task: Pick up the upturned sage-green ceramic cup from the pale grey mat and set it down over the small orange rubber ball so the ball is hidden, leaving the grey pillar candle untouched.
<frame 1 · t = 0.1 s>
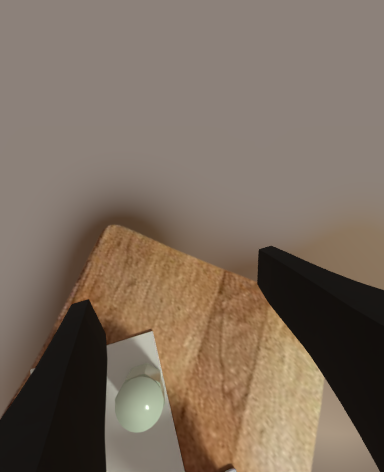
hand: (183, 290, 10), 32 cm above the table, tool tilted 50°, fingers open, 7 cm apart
grey mat: (107, 422, 34), on the table
sage cup: (143, 385, 36), resting on grey mat
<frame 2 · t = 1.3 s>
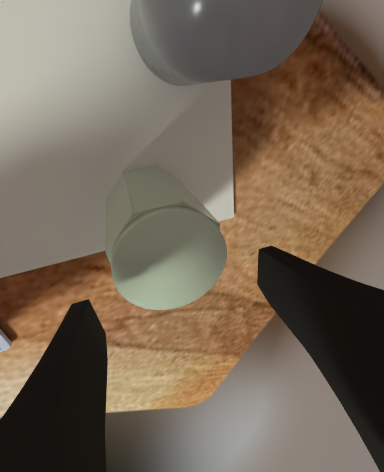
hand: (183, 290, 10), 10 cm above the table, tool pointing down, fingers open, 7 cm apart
grey mat: (78, 123, 15), on the table
sage cup: (148, 204, 18), resting on grey mat
grey pillar candle: (180, 27, 14), resting on grey mat
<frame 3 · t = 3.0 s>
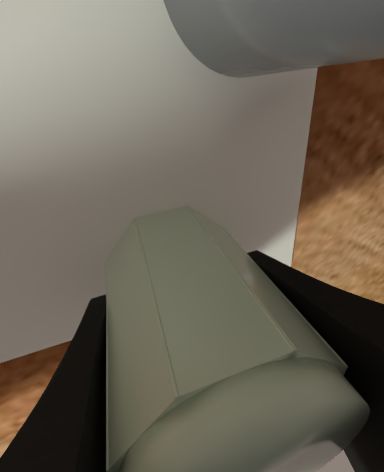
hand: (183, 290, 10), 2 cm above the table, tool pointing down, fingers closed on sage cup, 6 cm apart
grey mat: (58, 144, 8), on the table
sage cup: (172, 263, 12), resting on grey mat, touching gripper
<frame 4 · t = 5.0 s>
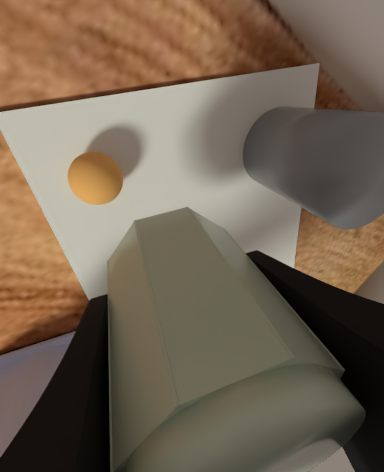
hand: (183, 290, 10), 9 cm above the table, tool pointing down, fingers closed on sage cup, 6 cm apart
orange ball: (96, 179, 14), point 2 cm above the table, touching grey mat
grey mat: (194, 215, 19), on the table
sage cup: (172, 263, 12), point 7 cm above the table, touching gripper
grey pillar candle: (276, 148, 18), resting on grey mat
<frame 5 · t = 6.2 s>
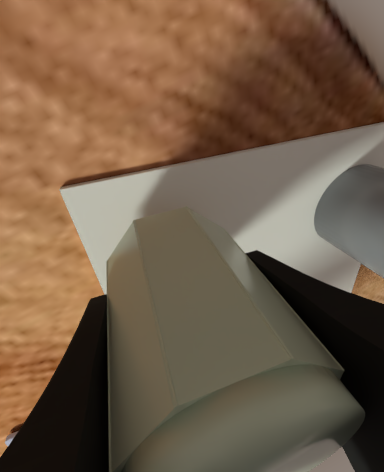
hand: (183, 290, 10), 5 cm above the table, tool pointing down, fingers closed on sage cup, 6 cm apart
grey mat: (253, 274, 18), on the table
sage cup: (172, 263, 12), point 2 cm above the table, touching gripper
grey pillar candle: (348, 205, 17), resting on grey mat
when the fingers open (4 cm above the table, at t = 7.3 s): sage cup drops 1 cm, resting on grey mat.
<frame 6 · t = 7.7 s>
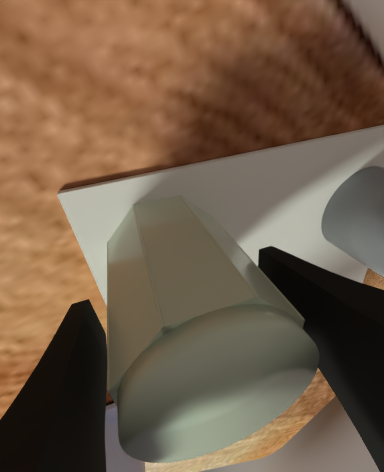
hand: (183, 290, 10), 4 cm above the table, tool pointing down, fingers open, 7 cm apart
grey mat: (258, 279, 17), on the table
sage cup: (166, 247, 13), resting on grey mat
grey pillar candle: (357, 208, 16), resting on grey mat
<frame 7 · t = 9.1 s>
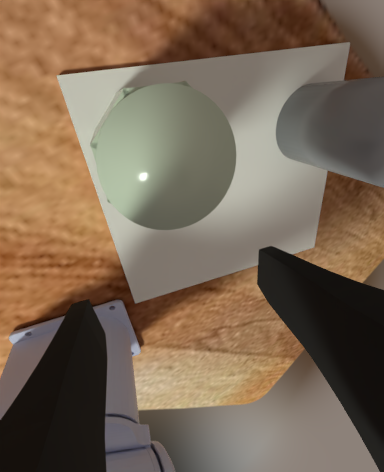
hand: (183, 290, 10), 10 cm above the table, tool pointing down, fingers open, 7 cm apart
grey mat: (226, 188, 20), on the table
sage cup: (144, 140, 16), resting on grey mat
grey pillar candle: (306, 124, 19), resting on grey mat
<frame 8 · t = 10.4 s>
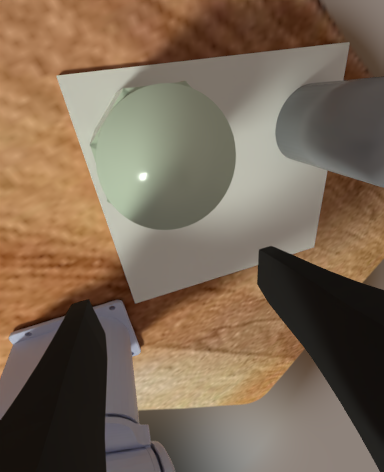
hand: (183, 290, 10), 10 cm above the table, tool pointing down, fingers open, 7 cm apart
grey mat: (226, 188, 20), on the table
sage cup: (144, 140, 16), resting on grey mat
grey pillar candle: (305, 124, 19), resting on grey mat
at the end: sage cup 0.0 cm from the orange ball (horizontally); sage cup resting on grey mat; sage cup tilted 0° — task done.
